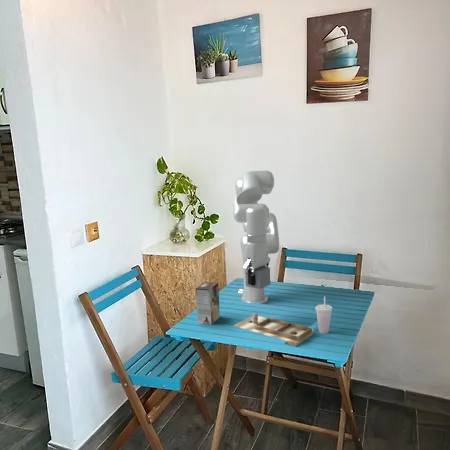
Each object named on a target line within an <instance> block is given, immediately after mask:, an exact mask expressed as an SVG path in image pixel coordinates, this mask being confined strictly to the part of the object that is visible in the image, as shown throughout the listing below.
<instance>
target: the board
mask: <svg viewBox="0 0 450 450" xmlns="http://www.w3.org/2000/svg"><path fill="white" fill-rule="evenodd" d="M233 326H234V327H236V328H239V329H243V330H246V331H250V332H254V333H256V334H257V333H258V334H261V335H263V336H264V335H265V336H267V337H271V338H275V339H279V340H282V341H284V344H285V345H289V346H292V347H297V346H299V345H301V344H302V343H303V342H305V341H306V340H307V339H309V338H310V337H312V336H313V335H314V334H315V332H316V331H315V329H313V328H312V327H310V326H305V325H300V324H297V323H293V322H288V321H285V320H280V319H278V318H277V319H276V318H273V317H264V316H262V315H261V316H260V315H259V314H258V313H257V312H253V313H252V315H251V316H250V317H248V318H246V319H243V320H241V321H240V322H238V323H236V324H234V325H233Z"/></svg>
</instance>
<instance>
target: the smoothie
mask: <svg viewBox="0 0 450 450" xmlns="http://www.w3.org/2000/svg"><path fill="white" fill-rule="evenodd" d="M314 310H315V311H316V319H317V321H316V322H317V327H318V332H319V333H320V334H328V333H329V332H330V325H331V318H332V317H331V316H332V311H333V307H332V306H331V305H330V304H326V296H325V295H324V296H323V304H317V305H315V308H314Z"/></svg>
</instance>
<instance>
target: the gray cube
mask: <svg viewBox="0 0 450 450" xmlns="http://www.w3.org/2000/svg"><path fill="white" fill-rule="evenodd" d="M251 272H252V269H251ZM254 275H255V285H249V284H248V275H247V273H246V272H245V280H246V286H247V287H252V288H256V289H262V288H264V289H265V288H266V287H268V286H270V285H271V267H269V266H268V267H264V266H261V267H259V268H256V269H255V273H254Z"/></svg>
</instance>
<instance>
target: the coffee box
mask: <svg viewBox="0 0 450 450" xmlns="http://www.w3.org/2000/svg"><path fill="white" fill-rule="evenodd" d="M219 291H220V290H219V282H212V281H204V282H202V283H201V284H200V285H198V286H197V287H195V296H196V298H195V299H196V314H197V324H199V325H200V324H201V325H209V326H212V325H213V324H215V323H216V321H218V320H219V319H220V317H221V313H220V310H221V309H220V295H219Z"/></svg>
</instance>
